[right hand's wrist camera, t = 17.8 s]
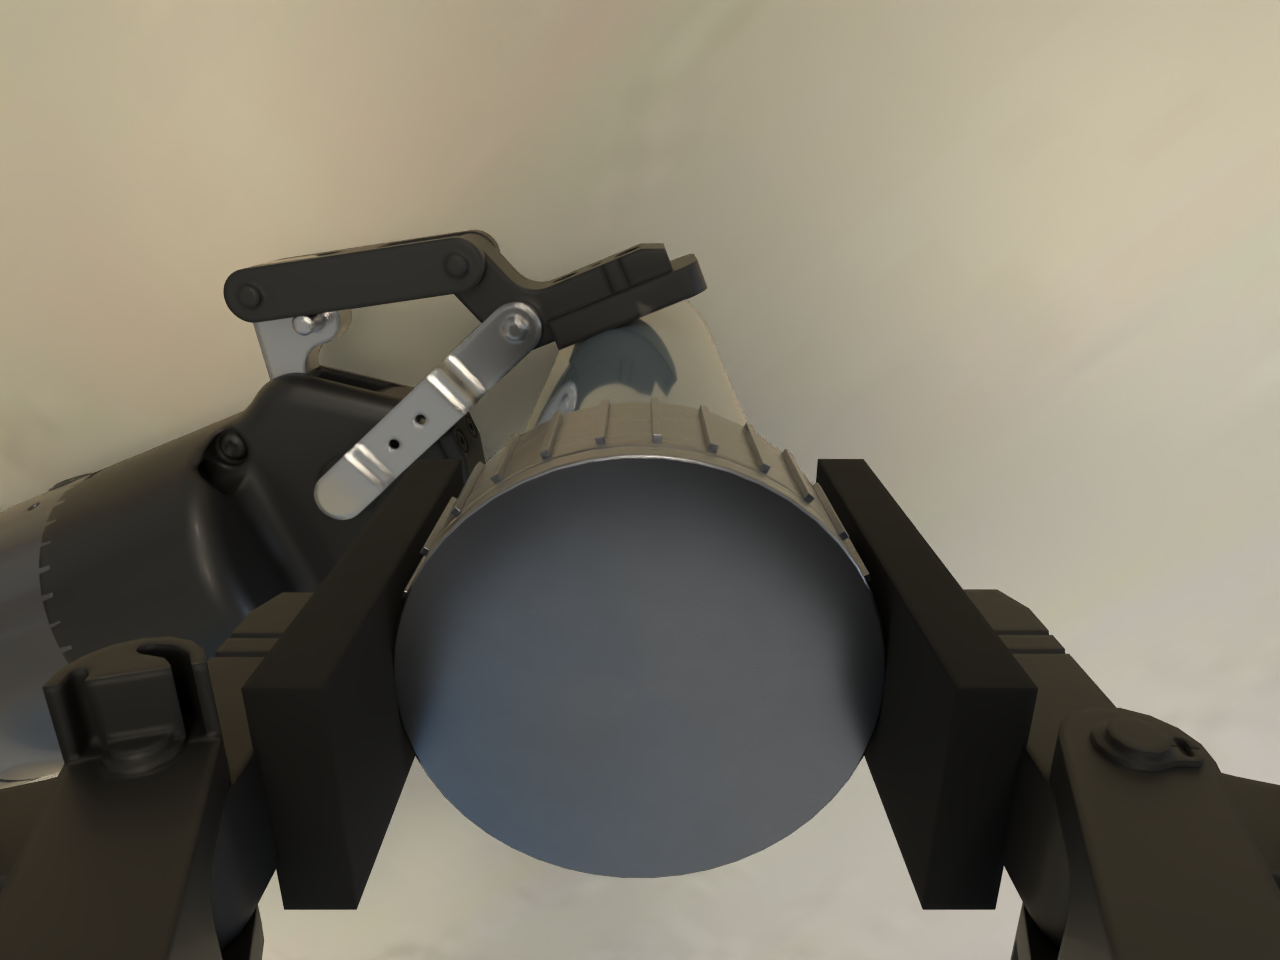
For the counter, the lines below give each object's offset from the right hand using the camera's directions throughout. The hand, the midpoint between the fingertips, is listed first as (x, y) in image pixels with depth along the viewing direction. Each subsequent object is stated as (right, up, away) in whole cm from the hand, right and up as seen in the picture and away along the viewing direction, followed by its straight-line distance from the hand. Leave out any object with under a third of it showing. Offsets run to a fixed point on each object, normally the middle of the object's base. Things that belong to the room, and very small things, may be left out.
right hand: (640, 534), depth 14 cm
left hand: (+2, +4, +7) cm, 8 cm away
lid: (0, -1, -4) cm, 4 cm away
